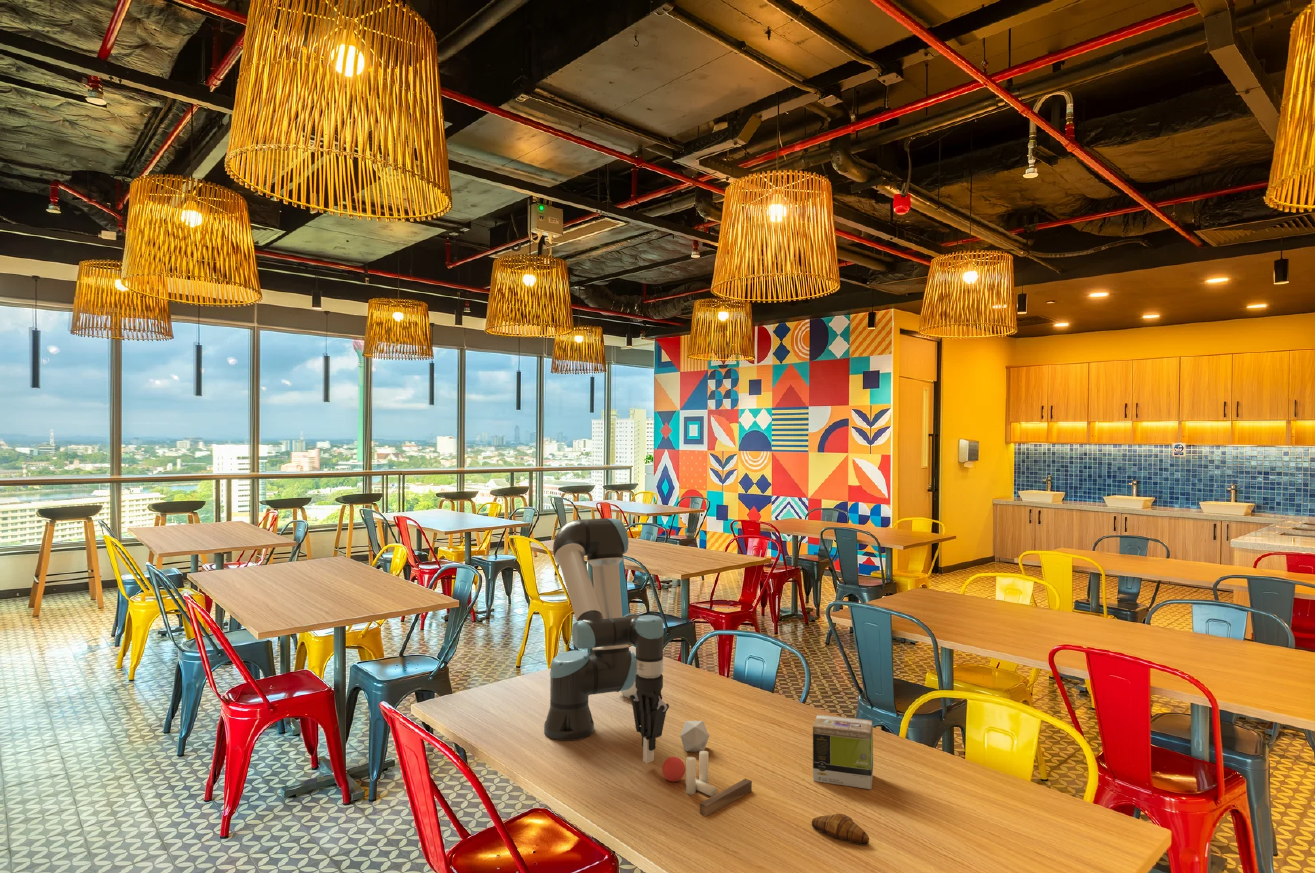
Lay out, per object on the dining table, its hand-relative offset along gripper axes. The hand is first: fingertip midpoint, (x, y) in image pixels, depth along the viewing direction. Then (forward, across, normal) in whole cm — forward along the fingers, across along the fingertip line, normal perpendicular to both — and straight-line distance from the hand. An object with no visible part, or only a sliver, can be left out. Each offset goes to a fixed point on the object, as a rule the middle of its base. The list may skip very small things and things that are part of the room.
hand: (648, 760), depth 200 cm
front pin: (+1, +14, 0) cm, 14 cm away
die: (+2, +1, +18) cm, 18 cm away
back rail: (+2, +27, 0) cm, 27 cm away
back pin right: (+2, +18, -2) cm, 18 cm away
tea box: (+2, +41, +32) cm, 52 cm away
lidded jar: (+2, -44, +37) cm, 58 cm away
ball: (-1, +10, -1) cm, 10 cm away
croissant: (+2, +55, +6) cm, 55 cm away
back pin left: (+2, +18, +2) cm, 18 cm away
